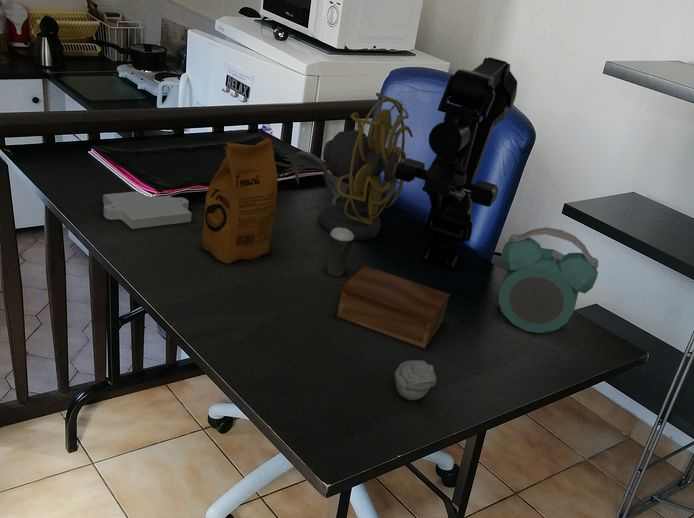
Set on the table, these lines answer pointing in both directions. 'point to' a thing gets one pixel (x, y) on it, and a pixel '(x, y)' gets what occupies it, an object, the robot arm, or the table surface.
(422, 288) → the lid
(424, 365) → the grey lumpy ball
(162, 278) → the table surface
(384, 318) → the brown open rectangular box
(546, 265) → the alarm clock
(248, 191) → the coffee package
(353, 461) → the table surface
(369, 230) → the electric fan
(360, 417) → the table surface
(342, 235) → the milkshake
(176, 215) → the mounting plate
